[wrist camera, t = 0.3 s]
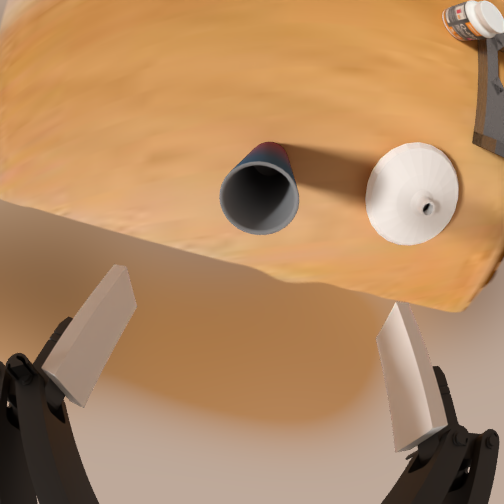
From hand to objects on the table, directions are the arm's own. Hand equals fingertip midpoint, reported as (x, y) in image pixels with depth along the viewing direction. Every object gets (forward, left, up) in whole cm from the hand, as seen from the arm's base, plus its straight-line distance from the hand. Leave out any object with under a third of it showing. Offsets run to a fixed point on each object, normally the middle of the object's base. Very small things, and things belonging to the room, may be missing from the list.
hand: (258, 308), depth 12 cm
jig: (-19, +37, -27) cm, 50 cm away
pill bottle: (-27, +26, -28) cm, 47 cm away
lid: (+2, +20, -28) cm, 34 cm away
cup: (0, -1, -28) cm, 28 cm away
